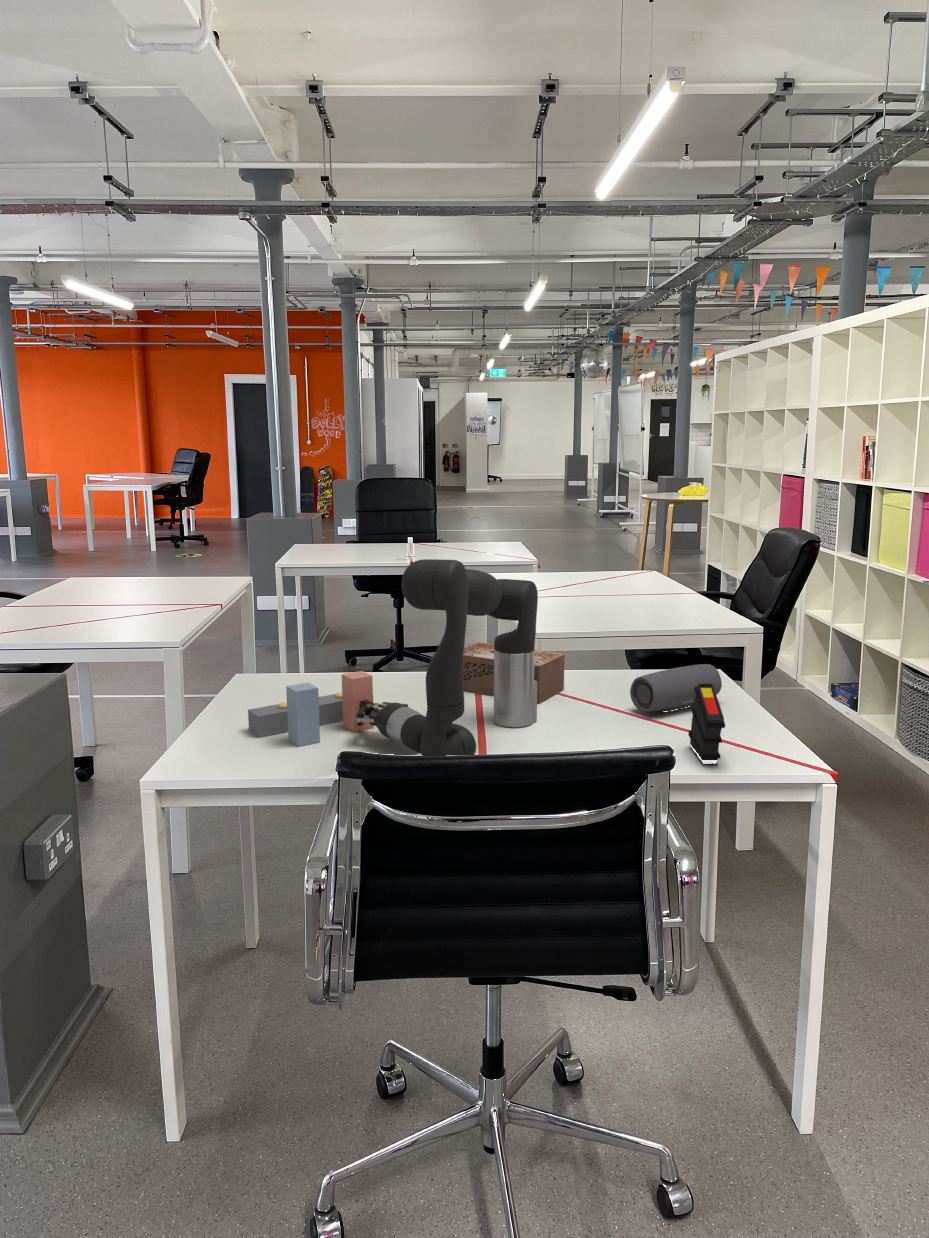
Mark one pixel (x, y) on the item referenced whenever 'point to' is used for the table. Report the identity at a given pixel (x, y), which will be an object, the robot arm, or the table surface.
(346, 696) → the red key
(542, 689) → the tissue box cover
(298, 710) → the blue key
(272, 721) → the console
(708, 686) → the black stepped tower
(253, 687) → the table surface
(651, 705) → the bluetooth speaker
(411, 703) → the table surface
